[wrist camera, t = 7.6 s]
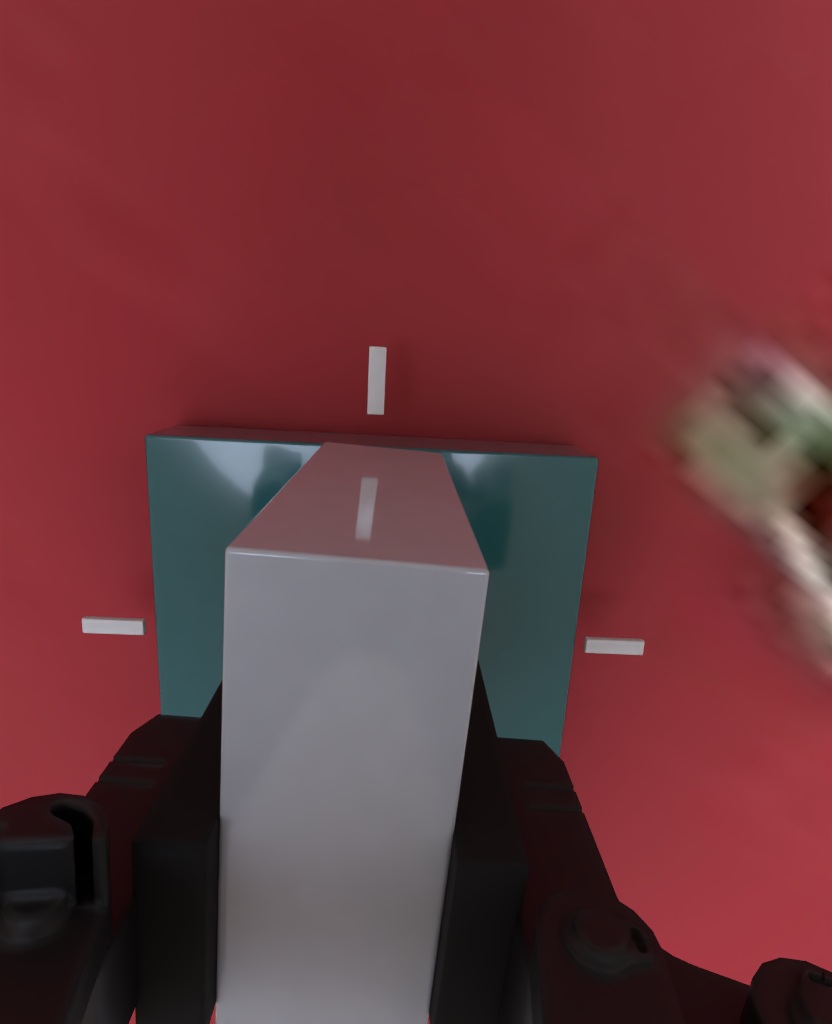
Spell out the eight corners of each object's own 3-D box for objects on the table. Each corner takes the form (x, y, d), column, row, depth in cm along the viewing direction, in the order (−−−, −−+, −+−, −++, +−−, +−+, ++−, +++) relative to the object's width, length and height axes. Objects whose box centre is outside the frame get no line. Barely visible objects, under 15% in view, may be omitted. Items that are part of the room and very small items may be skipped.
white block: (324, 441, 13) (215, 554, 6) (442, 452, 13) (495, 578, 6) (302, 792, 15) (204, 1214, 8) (404, 799, 15) (404, 1221, 8)
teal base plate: (105, 333, 14) (54, 328, 12) (649, 363, 15) (690, 364, 13) (148, 932, 19) (116, 1004, 17) (564, 942, 19) (584, 1014, 17)
